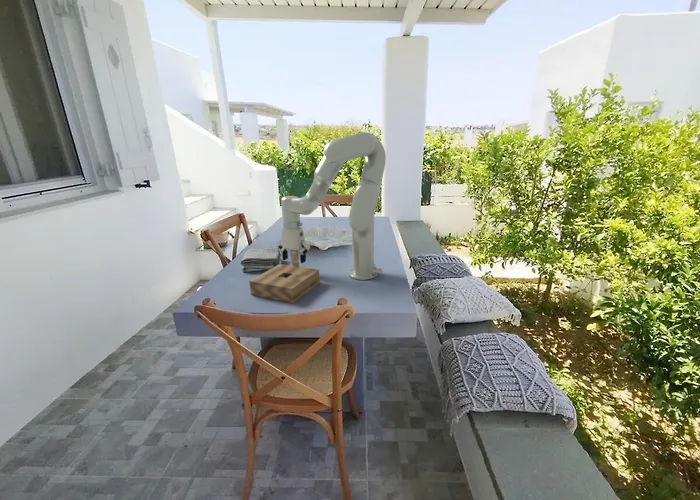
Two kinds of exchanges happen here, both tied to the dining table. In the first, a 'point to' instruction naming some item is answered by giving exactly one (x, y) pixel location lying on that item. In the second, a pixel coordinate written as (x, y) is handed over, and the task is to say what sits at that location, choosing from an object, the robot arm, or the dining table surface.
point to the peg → (294, 258)
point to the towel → (261, 259)
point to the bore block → (285, 283)
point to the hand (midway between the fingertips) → (294, 260)
